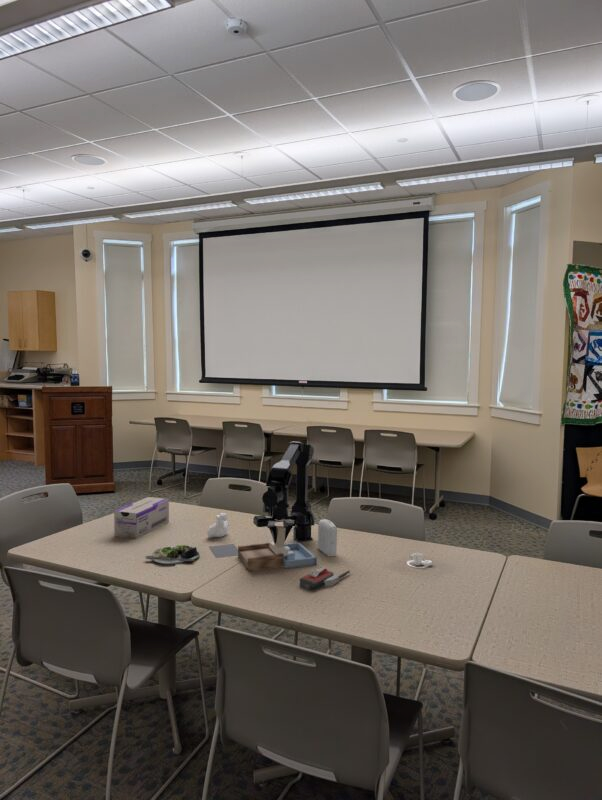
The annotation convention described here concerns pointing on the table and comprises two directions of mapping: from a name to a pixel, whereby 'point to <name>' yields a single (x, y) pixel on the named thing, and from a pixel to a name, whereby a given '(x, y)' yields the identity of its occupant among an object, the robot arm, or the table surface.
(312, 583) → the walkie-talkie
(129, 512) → the surgical sutures box
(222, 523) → the bust
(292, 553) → the grey square block
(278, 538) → the plate with square knob
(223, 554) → the mat
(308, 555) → the chip tray
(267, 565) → the groove block
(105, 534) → the table surface
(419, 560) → the teacup and saucer
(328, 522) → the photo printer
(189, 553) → the salad plate
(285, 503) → the robot arm
